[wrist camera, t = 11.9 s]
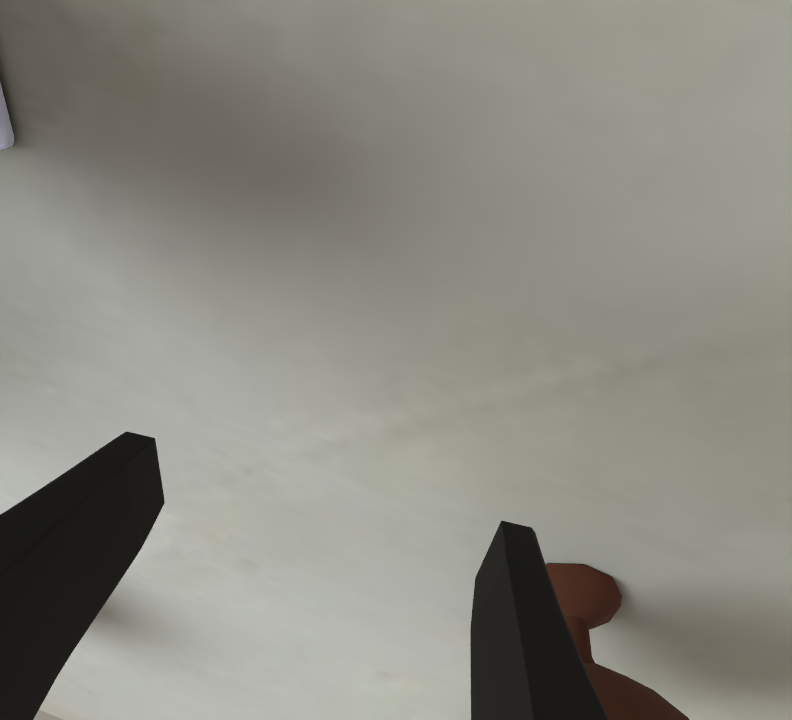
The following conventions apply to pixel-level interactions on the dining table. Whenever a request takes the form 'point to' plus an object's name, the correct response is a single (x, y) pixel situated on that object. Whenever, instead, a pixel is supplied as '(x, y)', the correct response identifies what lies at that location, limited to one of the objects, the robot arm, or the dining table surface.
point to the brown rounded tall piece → (585, 609)
